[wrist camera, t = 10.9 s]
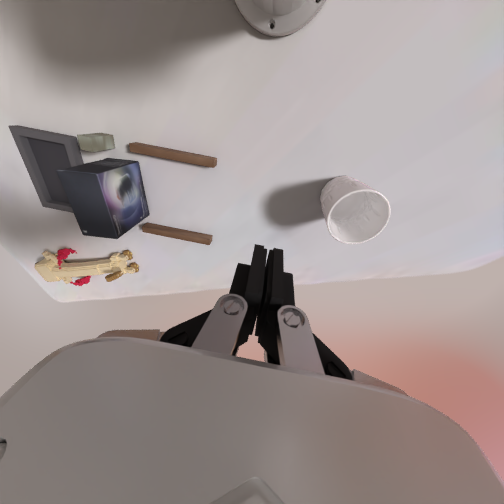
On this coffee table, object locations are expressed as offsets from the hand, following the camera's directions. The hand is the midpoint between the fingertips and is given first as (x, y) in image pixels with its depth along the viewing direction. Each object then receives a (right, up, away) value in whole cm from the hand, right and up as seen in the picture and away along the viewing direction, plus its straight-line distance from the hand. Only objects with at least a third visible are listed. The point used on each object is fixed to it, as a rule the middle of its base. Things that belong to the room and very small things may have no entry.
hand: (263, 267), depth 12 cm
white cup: (+15, +11, +24) cm, 30 cm away
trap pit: (-37, +16, +27) cm, 49 cm away
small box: (-24, +13, +28) cm, 39 cm away
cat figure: (-41, -1, +40) cm, 57 cm away
